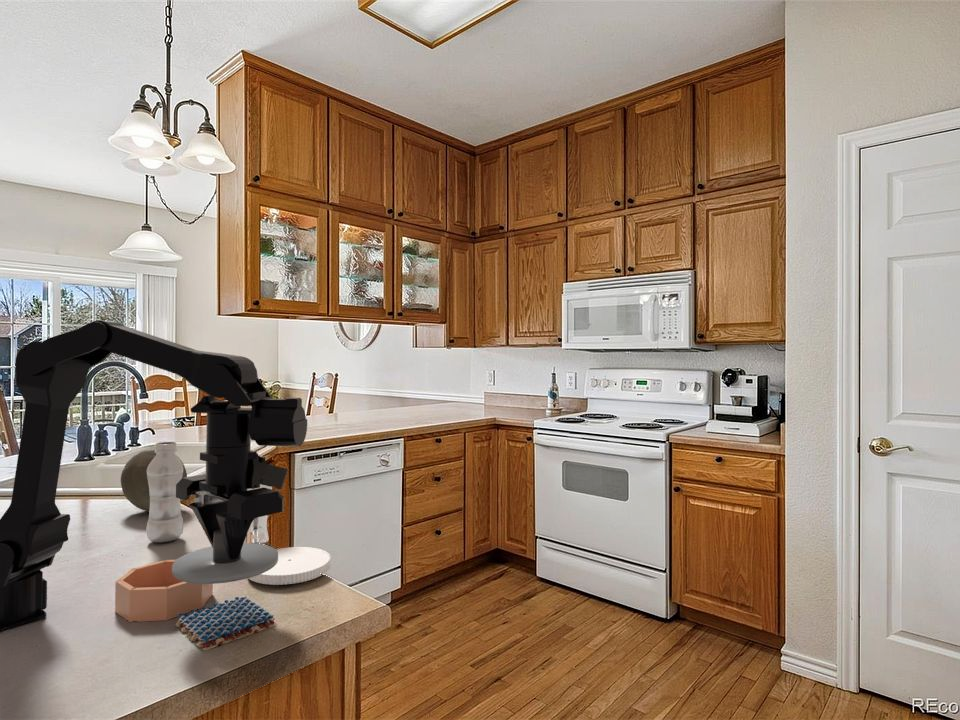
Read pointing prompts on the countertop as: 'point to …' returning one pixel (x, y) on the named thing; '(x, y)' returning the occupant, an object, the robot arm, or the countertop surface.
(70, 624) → the countertop surface
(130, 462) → the cantaloupe
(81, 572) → the countertop surface
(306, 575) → the plastic lid
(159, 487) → the plastic bottle
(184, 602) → the bowl
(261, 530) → the beer glass
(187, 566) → the cover
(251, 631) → the woven mat
